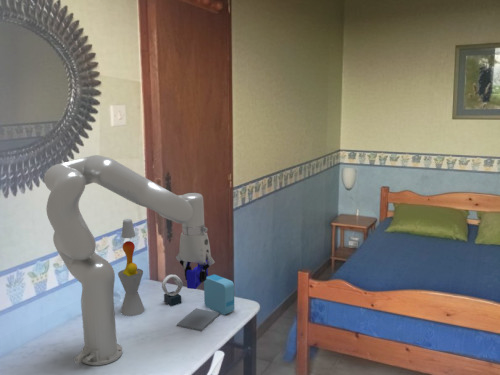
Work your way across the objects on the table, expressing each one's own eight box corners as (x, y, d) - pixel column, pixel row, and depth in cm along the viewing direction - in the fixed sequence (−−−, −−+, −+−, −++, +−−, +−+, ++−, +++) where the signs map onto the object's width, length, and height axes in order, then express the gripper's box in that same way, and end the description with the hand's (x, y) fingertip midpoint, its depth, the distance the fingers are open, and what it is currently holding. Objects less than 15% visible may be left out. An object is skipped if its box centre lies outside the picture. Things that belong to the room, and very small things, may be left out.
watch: (185, 301, 194) (184, 274, 192) (167, 307, 190) (166, 280, 187) (178, 297, 199) (177, 270, 197) (160, 302, 194) (158, 275, 192)
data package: (234, 312, 185) (234, 281, 183) (225, 316, 182) (225, 285, 180) (213, 302, 194) (212, 273, 191) (204, 306, 190) (203, 276, 188)
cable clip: (196, 274, 181) (195, 258, 179) (208, 275, 180) (207, 259, 178) (183, 287, 169) (182, 271, 168) (195, 289, 168) (194, 272, 167)
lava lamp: (115, 310, 188) (109, 219, 181) (137, 303, 193) (132, 215, 187) (127, 318, 181) (122, 224, 174) (149, 310, 187) (145, 219, 180)
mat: (201, 331, 171) (201, 329, 171) (176, 326, 175) (176, 324, 175) (220, 314, 184) (220, 312, 184) (195, 309, 188) (195, 308, 187)
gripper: (220, 229, 170) (222, 279, 174) (177, 224, 177) (180, 272, 181) (210, 235, 164) (212, 287, 168) (166, 230, 171) (169, 280, 174)
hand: (195, 279), depth 174 cm, fingers closed on cable clip, 5 cm apart
